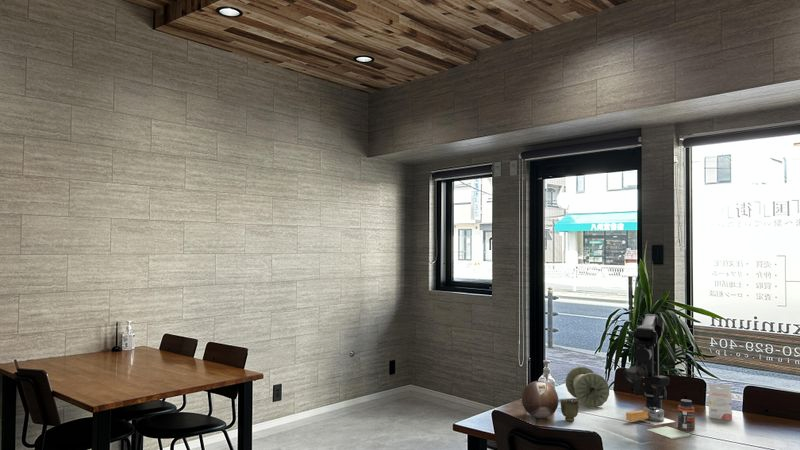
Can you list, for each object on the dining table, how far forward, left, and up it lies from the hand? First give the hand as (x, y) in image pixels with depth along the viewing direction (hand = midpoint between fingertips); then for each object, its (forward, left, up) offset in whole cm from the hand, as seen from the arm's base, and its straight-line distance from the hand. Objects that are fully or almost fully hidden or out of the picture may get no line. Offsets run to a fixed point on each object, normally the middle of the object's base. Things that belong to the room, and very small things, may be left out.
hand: (645, 398), depth 230 cm
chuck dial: (-6, -6, -11) cm, 13 cm away
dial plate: (-11, -6, -11) cm, 16 cm away
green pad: (-2, +9, -11) cm, 15 cm away
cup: (+22, -19, -12) cm, 31 cm away
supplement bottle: (-13, +8, -12) cm, 19 cm away
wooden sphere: (+30, -28, -12) cm, 43 cm away
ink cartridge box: (-40, +3, -12) cm, 41 cm away
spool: (-6, -39, -12) cm, 41 cm away
